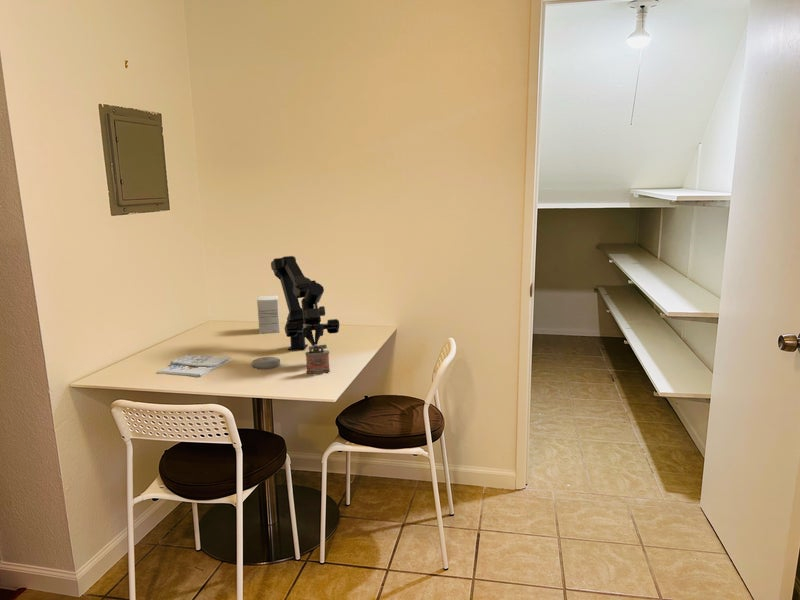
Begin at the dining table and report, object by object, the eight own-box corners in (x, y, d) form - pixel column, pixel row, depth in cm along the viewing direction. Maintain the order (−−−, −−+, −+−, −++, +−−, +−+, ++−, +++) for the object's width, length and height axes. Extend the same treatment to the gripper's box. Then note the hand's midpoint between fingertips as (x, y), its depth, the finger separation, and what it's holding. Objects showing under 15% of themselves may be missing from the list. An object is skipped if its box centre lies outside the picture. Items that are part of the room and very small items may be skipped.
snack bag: (231, 361, 223) (231, 356, 222) (199, 379, 204) (198, 373, 203) (188, 358, 228) (187, 352, 228) (152, 375, 209) (151, 369, 209)
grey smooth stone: (257, 360, 222) (256, 356, 221) (283, 360, 221) (283, 357, 221) (248, 369, 212) (247, 365, 212) (275, 369, 211) (275, 365, 211)
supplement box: (259, 328, 269) (257, 296, 266) (280, 327, 271) (278, 295, 268) (258, 333, 260) (256, 300, 257) (279, 332, 262) (277, 299, 259)
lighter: (306, 375, 204) (305, 347, 202) (306, 372, 208) (304, 344, 206) (330, 373, 206) (329, 345, 204) (329, 370, 209) (328, 342, 207)
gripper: (284, 300, 210) (288, 339, 202) (337, 297, 215) (343, 334, 206) (284, 317, 219) (288, 355, 211) (335, 313, 224) (341, 350, 215)
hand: (315, 348), depth 211 cm, fingers closed
